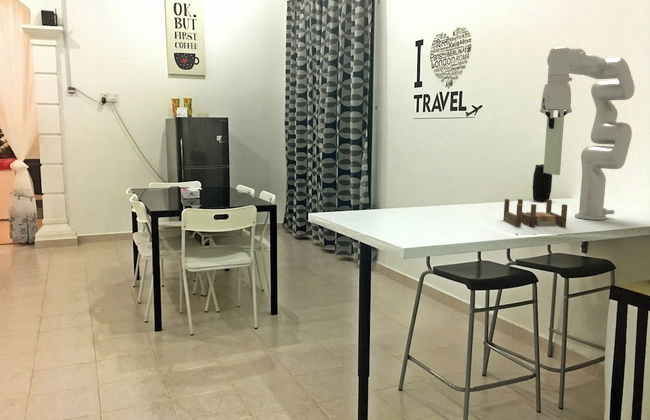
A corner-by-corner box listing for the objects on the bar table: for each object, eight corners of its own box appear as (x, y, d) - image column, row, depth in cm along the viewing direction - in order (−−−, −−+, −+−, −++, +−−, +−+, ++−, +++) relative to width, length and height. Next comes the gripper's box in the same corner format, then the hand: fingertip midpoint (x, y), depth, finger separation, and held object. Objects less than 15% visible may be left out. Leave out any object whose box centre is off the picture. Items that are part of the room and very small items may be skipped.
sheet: (548, 172, 227) (552, 117, 224) (559, 174, 216) (564, 117, 213) (543, 172, 227) (547, 117, 224) (554, 174, 216) (558, 117, 213)
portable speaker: (553, 202, 296) (556, 165, 293) (536, 202, 295) (538, 165, 292) (545, 200, 304) (547, 164, 301) (528, 200, 303) (531, 164, 300)
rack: (548, 223, 233) (550, 199, 231) (565, 230, 217) (567, 204, 216) (503, 222, 233) (504, 199, 231) (516, 230, 217) (518, 204, 215)
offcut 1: (543, 217, 230) (543, 212, 229) (555, 221, 220) (555, 216, 220) (525, 217, 229) (525, 212, 229) (536, 221, 219) (537, 216, 219)
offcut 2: (541, 221, 230) (541, 217, 230) (555, 226, 220) (556, 221, 220) (524, 222, 229) (525, 217, 228) (538, 226, 219) (538, 221, 219)
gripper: (573, 81, 220) (570, 128, 223) (533, 81, 220) (530, 128, 223) (582, 80, 213) (579, 129, 215) (541, 79, 212) (538, 128, 215)
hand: (554, 128), depth 219 cm, fingers closed on sheet, 2 cm apart
